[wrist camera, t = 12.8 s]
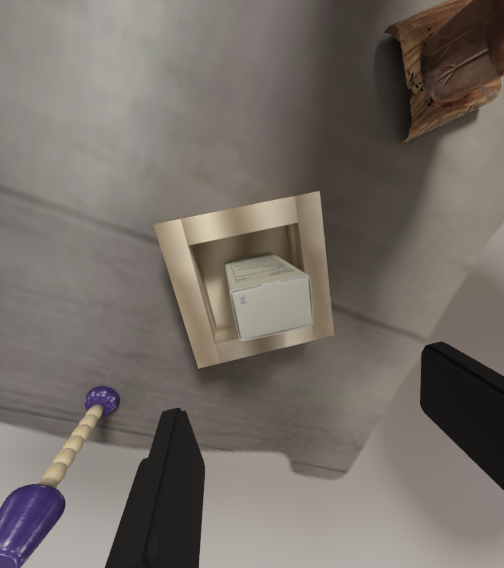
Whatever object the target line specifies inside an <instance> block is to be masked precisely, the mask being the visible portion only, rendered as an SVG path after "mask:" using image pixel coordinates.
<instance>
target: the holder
mask: <svg viewBox="0 0 504 568" xmlns="http://www.w3.org/2000/svg"><path fill="white" fill-rule="evenodd" d="M154 228H155V231H156V234H157V237H158V240H159V244H160V247H161V250H162V253H163V256H164V260H165V263H166V266H167V269H168V272H169V276H170V279H171V282H172V285H173V289H174V292H175V295H176V298H177V301H178V305H179V308H180V311H181V314H182V317H183V321H184V324H185V327H186V330H187V333H188V337H189V340H190V343H191V346H192V349H193V353H194V356H195V359H196V362H197V365H198V369H199V368H203V367H207V366H211V365H215V364H219V363H224V362H228V361H232V360H236V359H240V358H244V357H248V356H252V355H256V354H261V353H265V352H269V351H273V350H277V349H281V348H285V347H289V346H294V345H298V344H302V343H306V342H310V341H314V340H318V339H322V338H326V337H331V336H334V328H333V318H332V308H331V298H330V288H329V278H328V268H327V258H326V248H325V238H324V229H323V219H322V209H321V199H320V191H317V192H312V193H307V194H302V195H297V196H292V197H287V198H282V199H277V200H272V201H267V202H262V203H257V204H252V205H248V206H243V207H238V208H233V209H228V210H223V211H218V212H213V213H208V214H203V215H198V216H193V217H188V218H183V219H179V220H174V221H169V222H164V223H159V224H154ZM264 253H273V254H275V255H277V256H278V257H280V258H281V259H283V260H285V261H286V262H288V263H289V264H291V265H293V266H294V267H296V268H297V269H299V270H301V271H302V272H304V273H305V274H307V275H309V276H310V278H311V290H312V306H313V325H312V326H308V327H304V328H300V329H296V330H292V331H288V332H284V333H279V334H275V335H271V336H266V337H261V338H257V339H251V340H245V341H240V340H239V336H238V332H237V328H236V324H235V319H234V314H233V309H232V304H231V299H230V293H229V288H228V282H227V277H226V270H225V264H224V262H225V261H229V260H233V259H238V258H243V257H248V256H253V255H259V254H264Z"/></svg>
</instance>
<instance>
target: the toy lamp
mask: <svg viewBox="0 0 504 568" xmlns="http://www.w3.org/2000/svg"><path fill="white" fill-rule="evenodd" d="M118 404H119V396H118V394H117V393H116V392H115V390H113V389H111V388H109V387H104V386H101V387H96V388H94V389H92V390H90V391H89V393H88V394H87V396H86V399H85V408H86V410H87V413H86V415H85V417H84V418H83V419H82V420H81V421H80V423H79V425H78V427H77V428H76V429H75V430H74V431H73V432H72V434H71V437H70V438H69V439H68V440H67V441H66V442H65V444H64V445H63V447H62V450H61V452H59V454H58V455H57V456H56V457H55V458H54V460H53V462H52V465H51V466H50V467H49V468H48V469H47V470H46V471H45V473H44V474H43V476H42V479H41V482H39V483H38V484H32V485H26V486H23V487H20V488H18V489H16V490H15V491H13V492H12V493H11V494H10V495H9V496H8V497H7V498H6V500H5V501H4V503H3V505H2V506H1V508H0V568H20V567H21V566H22V565H23V564H24V563H25V562H26V561H27V559H28V558H29V556H30V555H31V554H32V553H33V552H34V550H35V549H36V548H37V547H38V546H39V544H40V543H41V542H42V540H43V539H44V538H45V537H46V535H47V534H48V533H49V531H50V530H51V529H52V527H53V526H54V525H55V524H56V523H57V521H58V520H59V518H60V517H61V515H62V514H63V512H64V509H65V499H64V496H63V495H62V494H61V493H60V491H59V490H57V489H56V488H57V485H58V484H59V483H60V482H61V481H62V479H63V478H64V476H65V474H66V470H67V469H68V468H69V467H70V465H71V464H72V463H73V461H74V459H75V455H76V454H77V453H78V452H79V451H80V449H81V448H82V446H83V442H85V441H86V440H87V438H88V437H89V435H90V432H91V430H92V429H93V428H94V427H95V425H96V423H97V420H98V419H99V418H100V417H101V416H105V415H108V414H109V413H111V412H112V411H113V410H115V408H116V407H117V406H118Z"/></svg>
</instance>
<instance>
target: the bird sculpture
mask: <svg viewBox="0 0 504 568" xmlns="http://www.w3.org/2000/svg"><path fill="white" fill-rule="evenodd" d="M428 29H429V31H428ZM384 33H389V34H391V35H392V36H393V37H395V38H396V39H397V40H398V41H399V42H400V43H401V49H402V50H403V54H402V55H403V61H404V68H405V77H406V79H407V87H408V89H410V88H412V91H413V95H414V94H415V93H416V96H415V97H414V96H412V97H413V100H411V97H410V100H411V101H410V105H411V107H410V108H411V116H412V123H411V127H410V131H409V135H408V138H407V139H406V140H405V141H404V142H403V143H405V142H407V141H409V140H411V139H413V138H416V137H418V136H420V135H423V134H425V133H427V132H429V131H431V130H433V129H435V128H438V127H440V126H442V125H445V124H446V123H449V122H450V121H453V120H455V119H457V118H459V117H461V116H463V115H465V114H467V113H469V112H471V111H473V110H475V109H477V108H479V107H481V106H483V105H485V104H487V103H489V102H491V101H493V100H494V99H495V98H496V97H497V95H498V94H499V92H500V91H501V79H500V77H502V76H504V0H448V1H445V2H443V3H441V4H439V5H436V6H434V7H432V8H430V9H427V10H425V11H422V12H420V13H418V14H416V15H413V16H411V17H409V18H407V19H404V20H402V21H400V22H398V23H396V24H393V25H391V26H389V27H388V28H387V30H385V32H384ZM432 33H433V34H432ZM430 34H432V35H431V36H430V37H429V35H430ZM426 41H427V42H426ZM425 42H426V43H425ZM423 43H425V45H423ZM408 69H409V72H410V76H409V72H407V70H408ZM412 73H414V75H413V79H412V80H411V82H409V80H410V78H411V74H412ZM415 74H416V76H415ZM413 81H414V83H415V84H416V85H417V84H418V85H419V88H416V86H415V84H414V86H413V87H412V86H411V85H412V83H413ZM422 81H424V83H423V82H422ZM408 82H409V83H408ZM419 82H422V84H421V85H420V84H419ZM420 88H421V89H422V88H423V92H421V89H420ZM417 92H418V93H417ZM464 96H465V98H464ZM430 97H431V98H432V99H433V102H430V100H431V99H430ZM425 100H426V102H424V101H425ZM453 101H454V102H453ZM447 103H448V104H451V106H450V105H448V106H446V104H447ZM443 105H445V106H444V108H442V107H443ZM416 115H417V117H416Z"/></svg>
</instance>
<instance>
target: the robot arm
mask: <svg viewBox="0 0 504 568" xmlns="http://www.w3.org/2000/svg"><path fill="white" fill-rule="evenodd" d="M420 405H421V408H422V410H423V411H424V412H425V414H426V415H427V416H428V417H429V418H430V419H431V420H432V421H433V422H434V423H435V424H437V426H439V427H440V429H442V430H443V431H444V432H445V433H446V434H447V435H448V436H449V437H450V438H451V439H452V440H453V441H454V442H455V443H456V444H457V445H458V446H459V447H460V448H461V449H462V450H463V451H464V452H465V453H466V454H467V455H468V456H469V457H470V458H471V459H472V460H473V461H474V462H475V463H477V465H478V466H479V467H480V468H481V469H482V470H484V472H485V473H487V474H488V475H489V476H490V477H491V478H492V479H493V480H494V481H495V482H496V483H497V484H498V485H499V486H500V487H501V488H502V489H503V490H504V376H502V375H501V374H499V373H497V372H495V371H494V370H492V369H490V368H488V367H486V366H485V365H483V364H481V363H480V362H478V361H476V360H474V359H473V358H471V357H469V356H467V355H466V354H464V353H462V352H460V351H459V350H457V349H455V348H453V347H452V346H450V345H448V344H446V343H444V342H437V343H433V344H429V345H426V346H425V347H424V350H423V351H422V354H421V390H420ZM204 479H205V465H204V461H203V458H202V455H201V452H200V449H199V447H198V444H197V441H196V438H195V435H194V433H193V430H192V427H191V424H190V421H189V419H188V416H187V413H186V411H181V409H180V408H175V409H171V410H167V411H163V412H162V414H161V417H160V420H159V424H158V427H157V430H156V434H155V437H154V440H153V443H152V447H151V450H150V453H149V457H148V458H145V459H143V460H142V461H141V463H140V465H139V467H138V470H137V473H136V476H135V479H134V482H133V485H132V488H131V491H130V494H129V497H128V500H127V503H126V506H125V509H124V512H123V515H122V518H121V521H120V524H119V527H118V530H117V533H116V536H115V539H114V542H113V545H112V548H111V551H110V554H109V557H108V560H107V563H106V566H105V568H199V553H200V539H201V525H202V509H203V495H204Z"/></svg>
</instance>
